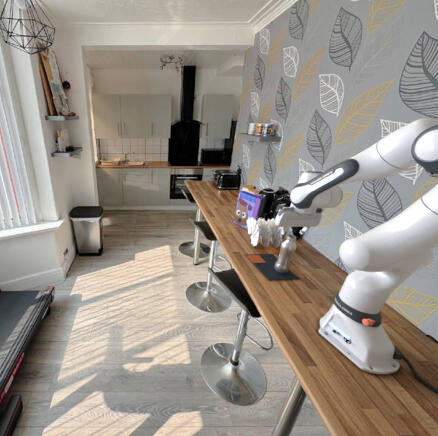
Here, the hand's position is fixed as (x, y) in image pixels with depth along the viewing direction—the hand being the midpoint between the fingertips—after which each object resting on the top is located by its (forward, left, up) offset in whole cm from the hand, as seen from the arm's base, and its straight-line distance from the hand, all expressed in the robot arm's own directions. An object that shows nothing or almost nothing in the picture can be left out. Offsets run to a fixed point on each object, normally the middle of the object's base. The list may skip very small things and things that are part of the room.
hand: (292, 234), depth 110 cm
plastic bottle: (0, 0, -21) cm, 21 cm away
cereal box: (+53, -9, -22) cm, 58 cm away
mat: (+5, +2, -21) cm, 22 cm away
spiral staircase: (+26, -9, -22) cm, 35 cm away
